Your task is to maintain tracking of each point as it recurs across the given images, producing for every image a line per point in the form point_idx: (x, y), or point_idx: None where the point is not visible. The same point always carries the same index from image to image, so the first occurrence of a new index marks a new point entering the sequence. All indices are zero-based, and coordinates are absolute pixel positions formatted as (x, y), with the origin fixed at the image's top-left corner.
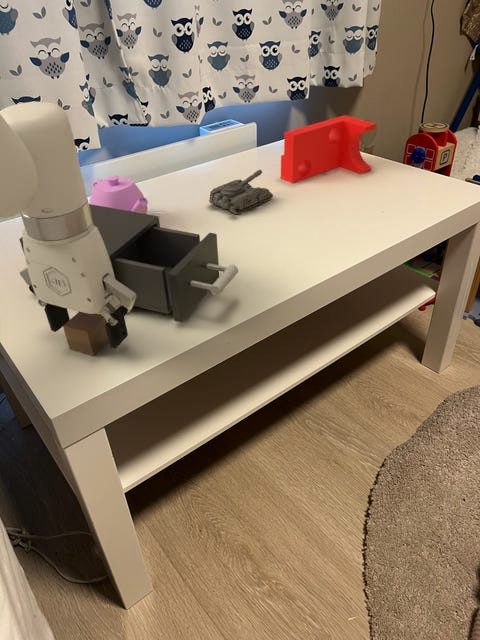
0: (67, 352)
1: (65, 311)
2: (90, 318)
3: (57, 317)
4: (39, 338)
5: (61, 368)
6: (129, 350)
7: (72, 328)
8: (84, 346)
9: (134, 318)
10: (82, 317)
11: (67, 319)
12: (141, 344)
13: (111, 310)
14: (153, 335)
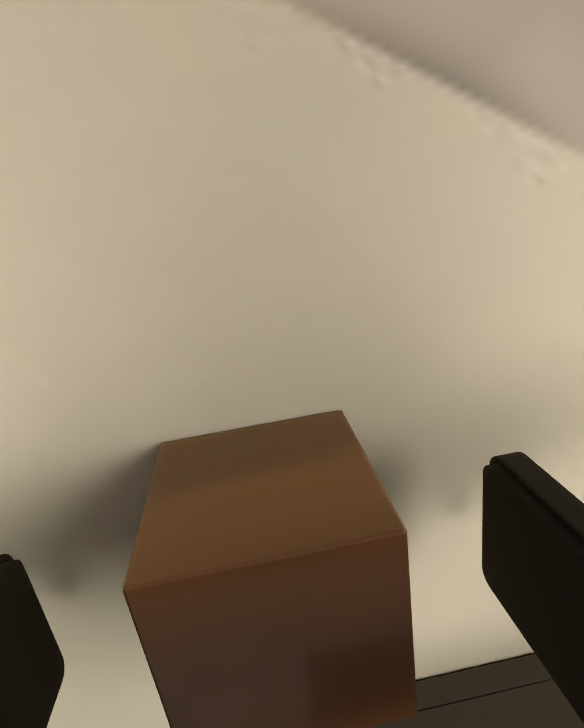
0: (333, 383)
1: (530, 631)
2: (264, 699)
3: (540, 565)
4: (573, 379)
5: (250, 259)
6: None
7: (298, 555)
8: (211, 466)
9: None
10: (336, 673)
11: (491, 572)
12: None
13: None
14: None
